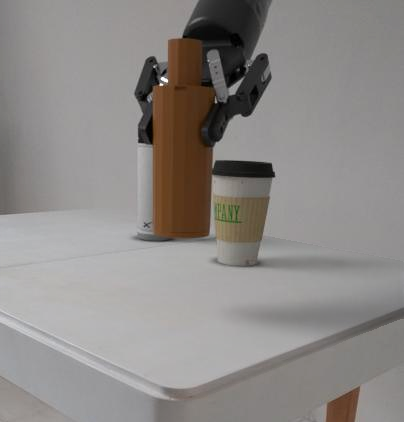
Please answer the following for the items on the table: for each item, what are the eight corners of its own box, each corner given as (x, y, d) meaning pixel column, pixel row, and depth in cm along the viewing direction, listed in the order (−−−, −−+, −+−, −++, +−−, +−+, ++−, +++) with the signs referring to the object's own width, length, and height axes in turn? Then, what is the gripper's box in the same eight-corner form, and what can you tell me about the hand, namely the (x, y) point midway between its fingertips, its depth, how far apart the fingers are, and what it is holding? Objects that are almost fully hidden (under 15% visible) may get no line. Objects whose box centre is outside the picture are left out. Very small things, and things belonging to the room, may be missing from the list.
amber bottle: (211, 230, 62) (218, 46, 56) (207, 239, 57) (215, 36, 50) (157, 228, 63) (158, 45, 56) (148, 236, 57) (148, 34, 51)
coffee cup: (207, 254, 94) (211, 159, 89) (266, 257, 94) (273, 161, 88) (205, 266, 85) (209, 161, 80) (270, 269, 85) (279, 164, 79)
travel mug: (148, 242, 102) (149, 122, 95) (131, 236, 107) (131, 122, 100) (177, 240, 105) (180, 124, 98) (160, 234, 110) (162, 124, 103)
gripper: (296, 53, 61) (252, 171, 55) (178, 55, 67) (126, 164, 61) (286, -17, 55) (235, 109, 49) (157, -7, 60) (96, 107, 54)
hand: (175, 139), depth 55 cm, fingers closed on amber bottle, 6 cm apart
